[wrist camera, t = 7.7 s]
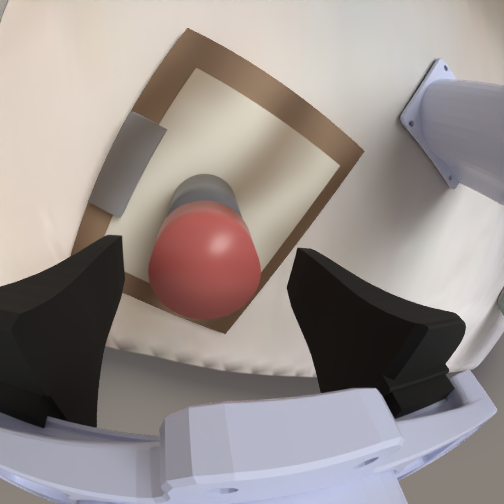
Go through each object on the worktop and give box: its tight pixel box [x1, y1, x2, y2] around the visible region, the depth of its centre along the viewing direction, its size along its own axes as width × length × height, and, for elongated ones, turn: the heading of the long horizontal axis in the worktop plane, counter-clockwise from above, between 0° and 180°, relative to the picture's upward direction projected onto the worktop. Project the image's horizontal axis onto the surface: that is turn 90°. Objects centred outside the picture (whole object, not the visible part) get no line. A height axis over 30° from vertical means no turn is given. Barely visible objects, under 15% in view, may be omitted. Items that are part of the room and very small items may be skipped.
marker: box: [148, 174, 261, 319], centre depth 14 cm, size 4×4×8 cm
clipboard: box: [71, 28, 364, 334], centre depth 17 cm, size 14×18×2 cm
